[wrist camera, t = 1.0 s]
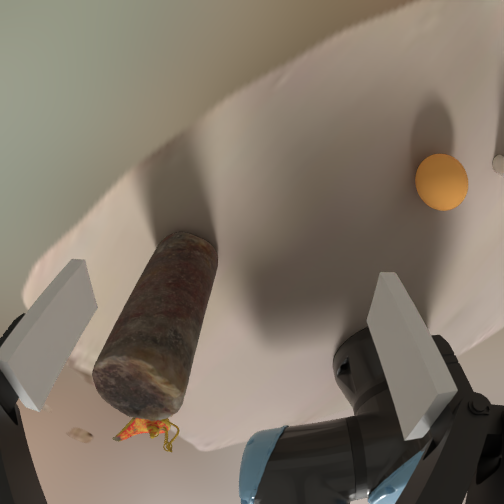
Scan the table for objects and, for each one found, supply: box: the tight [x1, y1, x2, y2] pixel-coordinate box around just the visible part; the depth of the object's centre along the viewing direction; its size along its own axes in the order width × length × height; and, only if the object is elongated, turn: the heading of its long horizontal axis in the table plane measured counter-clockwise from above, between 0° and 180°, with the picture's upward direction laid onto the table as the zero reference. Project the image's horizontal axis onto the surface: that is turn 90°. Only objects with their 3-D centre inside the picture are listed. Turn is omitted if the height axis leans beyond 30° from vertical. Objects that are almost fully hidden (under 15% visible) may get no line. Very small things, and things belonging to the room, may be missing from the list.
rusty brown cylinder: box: [92, 232, 218, 421], centre depth 29 cm, size 8×7×20 cm
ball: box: [415, 154, 468, 211], centre depth 29 cm, size 6×6×6 cm
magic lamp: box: [113, 416, 179, 452], centre depth 51 cm, size 7×18×11 cm, turn 121°
